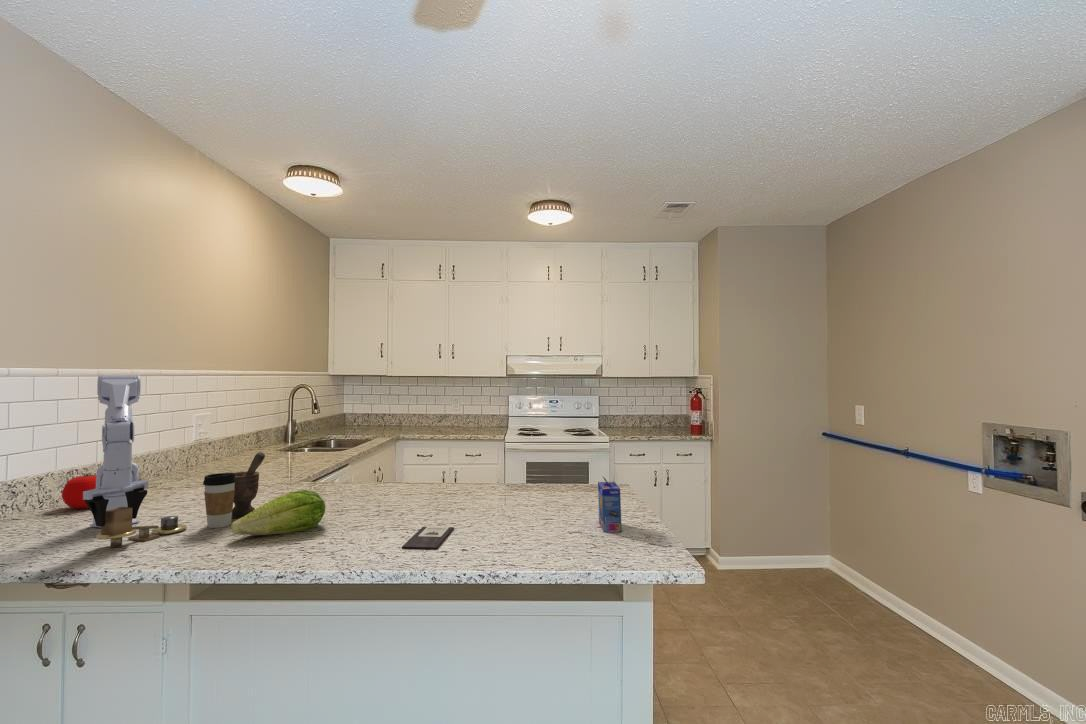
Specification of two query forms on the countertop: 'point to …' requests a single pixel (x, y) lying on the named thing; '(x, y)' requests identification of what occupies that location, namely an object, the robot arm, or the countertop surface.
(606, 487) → the ink cartridge box
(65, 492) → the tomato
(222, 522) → the coffee cup
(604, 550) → the countertop surface
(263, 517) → the lettuce
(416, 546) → the chocolate bar
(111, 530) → the walnut block
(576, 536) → the countertop surface
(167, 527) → the balance
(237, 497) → the mortar and pestle
